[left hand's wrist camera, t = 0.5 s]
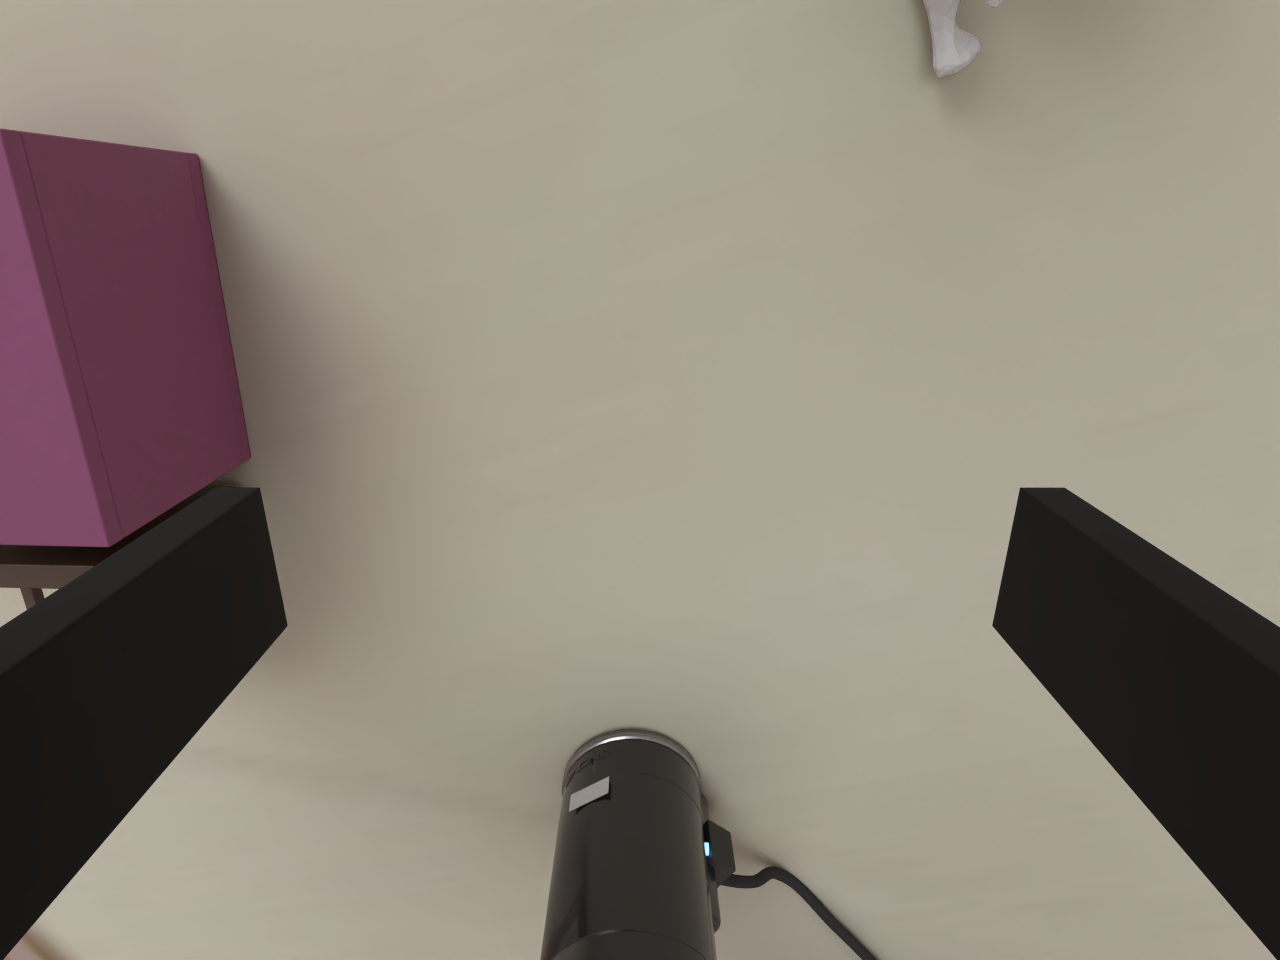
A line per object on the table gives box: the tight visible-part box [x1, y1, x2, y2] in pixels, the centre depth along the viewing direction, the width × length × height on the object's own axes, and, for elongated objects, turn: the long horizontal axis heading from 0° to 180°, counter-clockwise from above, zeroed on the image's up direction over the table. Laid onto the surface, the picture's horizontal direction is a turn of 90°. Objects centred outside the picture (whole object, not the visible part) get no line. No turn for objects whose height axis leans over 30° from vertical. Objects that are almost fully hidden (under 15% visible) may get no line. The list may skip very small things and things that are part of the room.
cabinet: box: [0, 129, 251, 547], centre depth 33 cm, size 16×11×12 cm
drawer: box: [0, 486, 236, 610], centre depth 35 cm, size 20×10×10 cm, turn 179°
